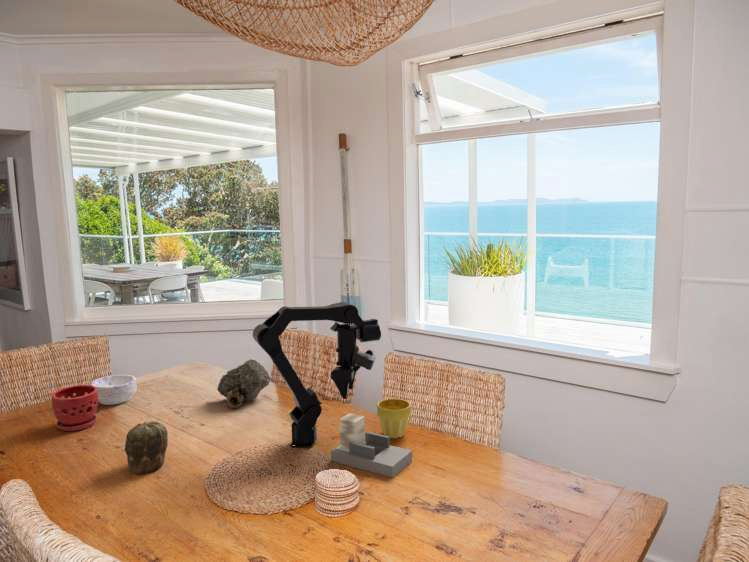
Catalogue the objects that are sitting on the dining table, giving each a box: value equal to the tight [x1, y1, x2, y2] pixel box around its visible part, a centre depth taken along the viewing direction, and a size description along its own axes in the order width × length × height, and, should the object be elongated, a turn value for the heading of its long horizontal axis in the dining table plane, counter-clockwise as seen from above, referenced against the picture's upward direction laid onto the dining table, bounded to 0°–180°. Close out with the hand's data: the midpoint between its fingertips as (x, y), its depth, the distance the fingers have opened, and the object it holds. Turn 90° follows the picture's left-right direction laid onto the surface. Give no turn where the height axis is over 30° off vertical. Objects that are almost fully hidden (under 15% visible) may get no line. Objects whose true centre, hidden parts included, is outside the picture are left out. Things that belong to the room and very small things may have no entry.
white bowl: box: [90, 374, 138, 406], centre depth 200 cm, size 15×15×8 cm
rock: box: [216, 359, 272, 409], centre depth 196 cm, size 18×14×15 cm
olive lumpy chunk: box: [124, 420, 169, 475], centre depth 147 cm, size 11×11×12 cm
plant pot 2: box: [376, 398, 412, 439], centre depth 167 cm, size 10×10×10 cm
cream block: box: [339, 412, 366, 449], centre depth 152 cm, size 5×5×8 cm
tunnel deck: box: [330, 431, 413, 478], centre depth 149 cm, size 20×11×6 cm, turn 59°
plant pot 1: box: [51, 384, 99, 432], centre depth 176 cm, size 13×13×12 cm
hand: (347, 393), depth 166 cm, fingers open, 9 cm apart
